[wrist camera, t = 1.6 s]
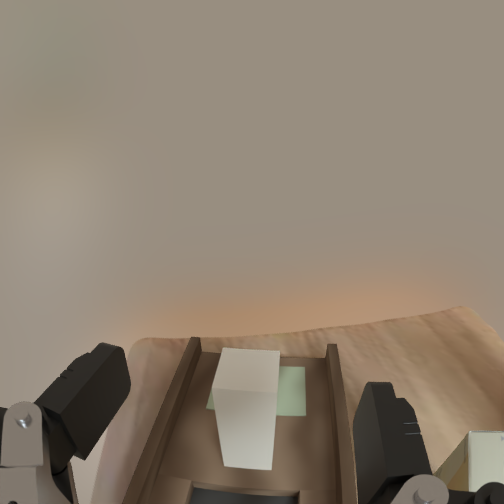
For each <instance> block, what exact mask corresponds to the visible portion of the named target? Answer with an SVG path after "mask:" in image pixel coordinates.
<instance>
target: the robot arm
mask: <svg viewBox="0 0 504 504" xmlns="http://www.w3.org/2000/svg"><path fill="white" fill-rule="evenodd" d="M130 387H131V380H130V376H129V371H128V367H127V363H126V358H125V353H124V350H123V349H122V348H121V347H118V346H115V345H110V344H107V343H100V344H98V345H97V347H96V348H95V349H94V350H93V351H92V352H91V353H86V354H84V355H82V356H80V357H78V358H76V359H75V360H74V361H73V362H72V363H71V364H70V365H69V366H68V367H67V370H64V371H63V372H62V373H61V374H60V377H58V378H57V379H56V380H55V381H54V382H53V383H52V384H51V385H50V386H49V387H48V388H47V389H46V390H45V391H44V393H43V394H42V395H41V396H40V397H39V398H38V399H37V400H36V401H35V402H34V403H31V402H19V403H16V404H14V405H12V406H11V407H10V408H9V409H7V408H2V407H0V504H79V503H78V499H77V494H76V489H75V483H74V478H73V472H72V466H71V463H70V459H71V458H72V456H73V455H74V456H76V457H78V458H80V459H83V460H86V458H87V457H88V455H89V454H90V452H91V451H92V449H93V447H94V446H95V444H96V443H97V442H98V440H99V438H100V437H101V435H102V434H103V432H104V431H105V429H106V428H107V426H108V425H109V423H110V422H111V420H112V419H113V417H114V416H115V414H116V413H117V411H118V410H119V408H120V407H121V405H122V404H123V402H124V401H125V400H126V398H127V396H128V394H129V392H130ZM417 422H418V421H417V418H416V415H415V412H414V409H413V408H412V406H411V405H410V404H409V403H408V402H407V401H406V399H405V398H396V396H395V393H394V389H393V386H392V384H391V383H390V382H368V383H367V384H366V386H365V388H364V391H363V394H362V397H361V400H360V402H359V405H358V408H357V411H356V413H355V417H354V422H353V437H354V448H355V460H356V474H357V490H358V504H504V484H502V483H500V482H489V483H486V484H484V485H483V486H482V487H480V488H479V489H478V490H477V491H476V492H469V491H458V490H451V489H448V488H447V486H446V485H445V483H444V482H443V481H442V480H440V479H439V478H437V477H435V476H433V474H432V472H431V468H430V464H429V460H428V456H427V453H426V449H425V445H424V442H423V438H422V435H420V432H421V431H420V428H419V425H418V424H417Z"/></svg>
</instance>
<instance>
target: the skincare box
mask: <svg viewBox="0 0 504 504" xmlns="http://www.w3.org/2000/svg"><path fill="white" fill-rule="evenodd" d="M433 476H435V477H437V478H439V479H440V480H442V481H443V482H444V483H445V485H446V486H447V488H448V489H451V490H458V491H469V492H476V491H477V490H478V489H479V488H480V487H482V486H483V485H484V484H486V483H489V482H500V483H502V484H504V431H469V432H468V434H467V435H466V436H465V438H464V439H463V440H462V441H461V443H460V444H459V445H458V446H457V448H456V449H455V450H454V451H453V452H452V454H451V455H450V456H449V457H448V458H447V459H446V461H445V462H444V463H443V464H442V465H441V466H440V467H439V468H438V470H437V471H436V472H435V473H434V474H433Z"/></svg>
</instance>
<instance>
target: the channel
mask: <svg viewBox="0 0 504 504" xmlns="http://www.w3.org/2000/svg"><path fill="white" fill-rule="evenodd" d="M220 357H221V353H210V352H202V349H201V342H200V337H191V338H190V341H189V343H188V345H187V348H186V350H185V352H184V355H183V357H182V359H181V362H180V364H179V366H178V369H177V371H176V373H175V376H174V378H173V380H172V383H171V385H170V387H169V390H168V392H167V395H166V397H165V399H164V402H163V404H162V406H161V409H160V411H159V414H158V416H157V419H156V421H155V423H154V426H153V428H152V431H151V433H150V435H149V438H148V440H147V443H146V445H145V448H144V450H143V453H142V455H141V458H140V460H139V463H138V465H137V468H136V470H135V472H134V475H133V478H132V480H131V483H130V485H129V488H128V490H127V493H126V495H125V498H124V500H123V503H122V504H357V498H356V486H355V475H354V465H353V456H352V447H351V438H350V430H349V422H348V414H347V407H346V400H345V393H344V386H343V380H342V373H341V367H340V361H339V355H338V349H337V344H328V345H327V351H326V357H325V358H288V357H280V361H279V378H278V394H277V408H276V422H275V435H274V447H273V459H272V470H259V469H247V468H236V467H227V466H224V462H223V457H222V451H221V445H220V439H219V433H218V427H217V420H216V414H215V407H214V401H213V394H212V385H213V381H214V378H215V374H216V371H217V367H218V364H219V360H220Z"/></svg>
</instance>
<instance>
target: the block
mask: <svg viewBox="0 0 504 504" xmlns="http://www.w3.org/2000/svg"><path fill="white" fill-rule="evenodd" d="M279 361H280V351H272V350H253V349H238V348H224V347H223V350H222V353H221V357H220V360H219V364H218V367H217V371H216V374H215V378H214V381H213V385H212V394H213V401H214V407H215V414H216V420H217V427H218V433H219V439H220V445H221V451H222V457H223V462H224V466H227V467H236V468H247V469H259V470H272V459H273V447H274V435H275V422H276V408H277V394H278V378H279Z"/></svg>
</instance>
